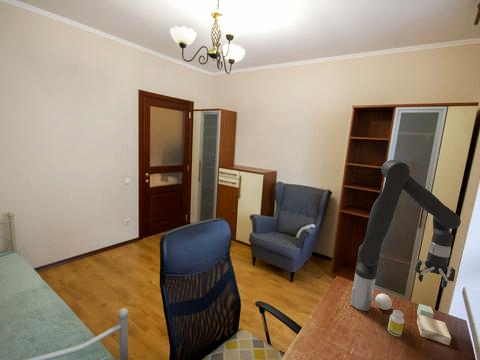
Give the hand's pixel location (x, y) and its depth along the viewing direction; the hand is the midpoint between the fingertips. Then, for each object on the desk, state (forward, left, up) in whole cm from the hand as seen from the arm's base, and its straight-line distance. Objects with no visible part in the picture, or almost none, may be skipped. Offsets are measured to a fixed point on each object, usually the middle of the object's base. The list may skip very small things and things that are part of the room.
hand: (431, 284), depth 116 cm
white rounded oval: (-18, -5, -18) cm, 26 cm away
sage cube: (0, 0, -18) cm, 18 cm away
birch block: (+1, -10, -18) cm, 21 cm away
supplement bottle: (-14, -18, -18) cm, 29 cm away
